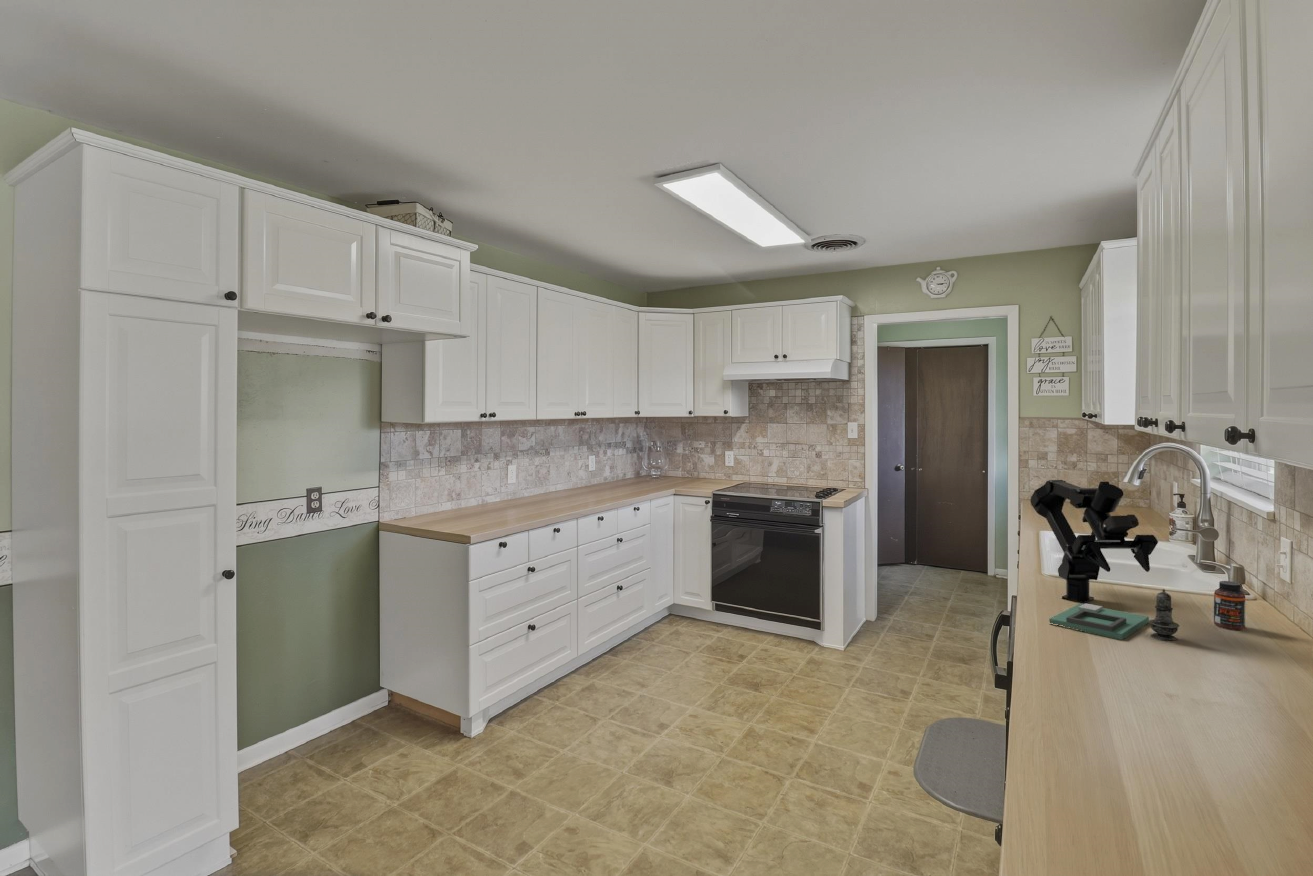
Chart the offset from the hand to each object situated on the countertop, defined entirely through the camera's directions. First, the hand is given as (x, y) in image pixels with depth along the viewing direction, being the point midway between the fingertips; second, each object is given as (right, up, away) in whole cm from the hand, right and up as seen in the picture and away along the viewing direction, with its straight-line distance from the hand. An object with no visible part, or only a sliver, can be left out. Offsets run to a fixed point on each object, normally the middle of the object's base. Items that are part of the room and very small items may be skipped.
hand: (1128, 570), depth 164 cm
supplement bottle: (+24, -14, -2) cm, 28 cm away
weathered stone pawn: (+3, -15, -8) cm, 17 cm away
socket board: (-5, -15, +4) cm, 16 cm away
